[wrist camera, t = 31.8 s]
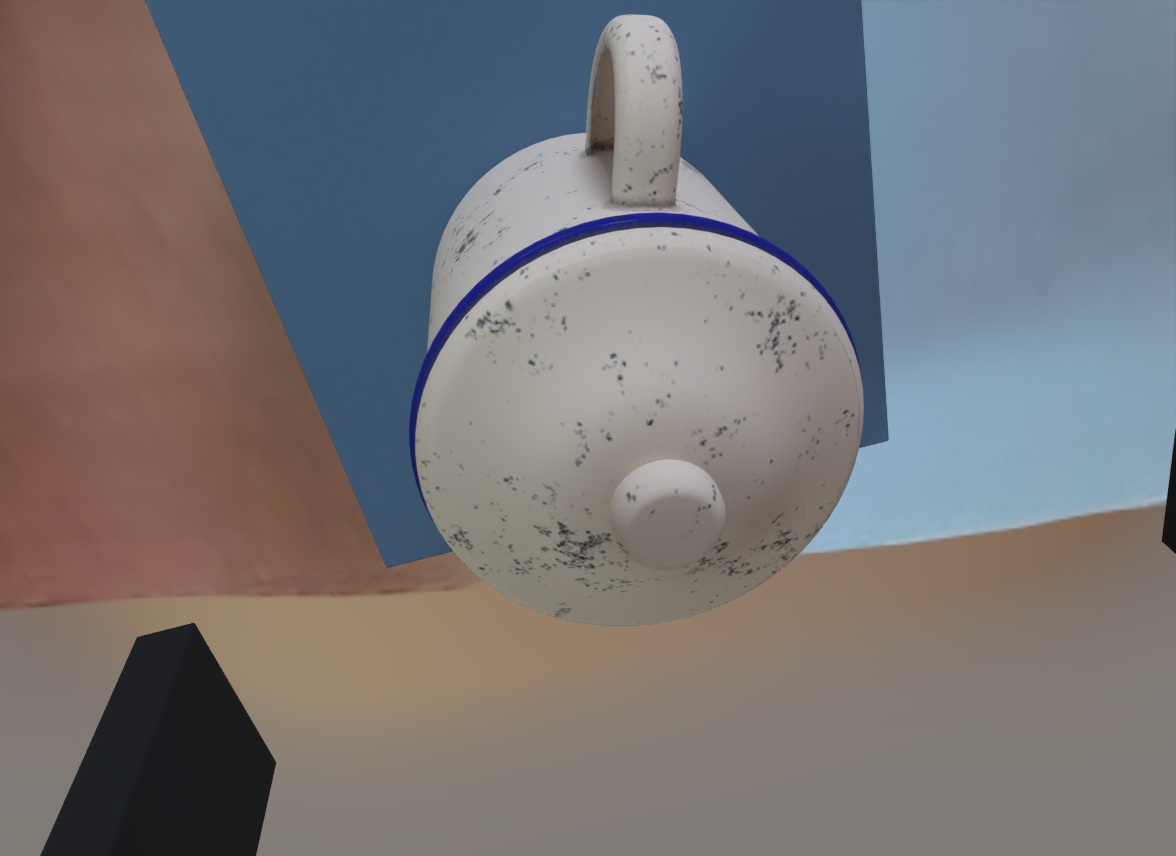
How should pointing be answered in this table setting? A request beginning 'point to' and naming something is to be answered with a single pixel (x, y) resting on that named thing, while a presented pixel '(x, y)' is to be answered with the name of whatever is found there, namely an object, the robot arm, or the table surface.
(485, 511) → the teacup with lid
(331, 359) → the lunchbox lid
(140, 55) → the table surface
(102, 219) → the table surface
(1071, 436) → the table surface
